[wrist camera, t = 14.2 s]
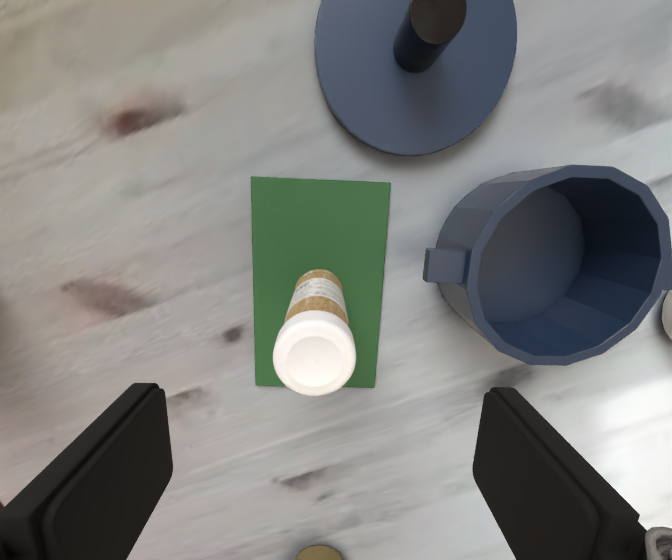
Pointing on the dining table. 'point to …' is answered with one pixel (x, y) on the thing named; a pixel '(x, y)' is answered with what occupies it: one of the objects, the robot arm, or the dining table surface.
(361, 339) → the green flat rectangular board
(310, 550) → the squeeze bottle
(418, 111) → the lid
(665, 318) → the donut
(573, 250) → the pot
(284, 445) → the dining table surface
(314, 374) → the sprinkles bottle
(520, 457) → the robot arm
